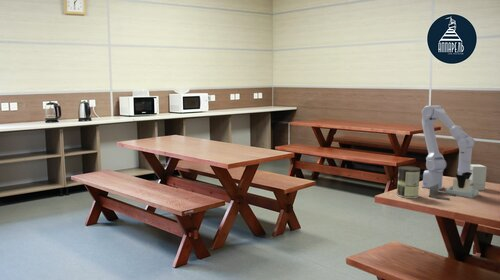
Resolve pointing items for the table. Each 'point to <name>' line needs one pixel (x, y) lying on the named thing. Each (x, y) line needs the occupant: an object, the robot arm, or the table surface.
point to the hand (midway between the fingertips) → (462, 187)
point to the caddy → (466, 188)
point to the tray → (463, 193)
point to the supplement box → (478, 176)
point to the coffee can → (408, 181)
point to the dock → (435, 190)
